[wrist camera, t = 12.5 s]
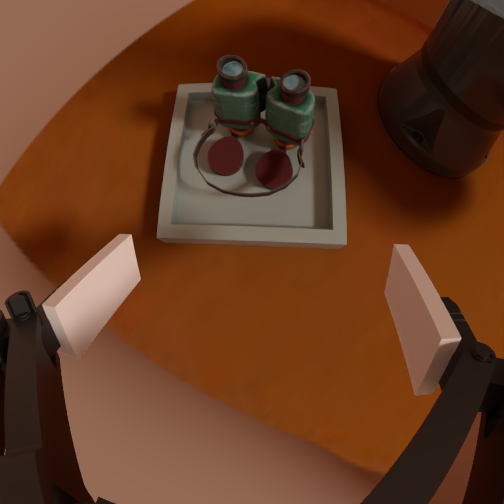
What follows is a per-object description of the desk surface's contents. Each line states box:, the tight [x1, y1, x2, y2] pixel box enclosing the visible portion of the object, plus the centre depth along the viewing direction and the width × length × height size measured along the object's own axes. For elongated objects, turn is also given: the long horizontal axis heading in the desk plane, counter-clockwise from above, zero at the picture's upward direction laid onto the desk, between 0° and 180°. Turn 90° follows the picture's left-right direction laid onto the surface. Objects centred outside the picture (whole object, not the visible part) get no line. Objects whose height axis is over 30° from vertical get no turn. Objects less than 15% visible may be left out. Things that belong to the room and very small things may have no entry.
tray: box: [157, 83, 347, 249], centre depth 28 cm, size 16×16×2 cm
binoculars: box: [193, 55, 315, 197], centre depth 23 cm, size 9×11×10 cm
